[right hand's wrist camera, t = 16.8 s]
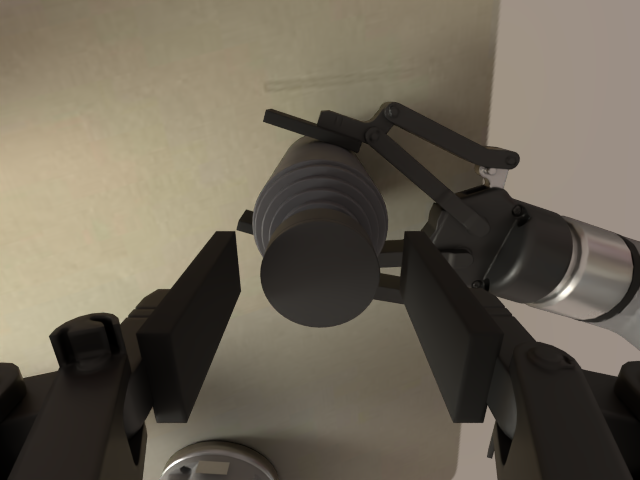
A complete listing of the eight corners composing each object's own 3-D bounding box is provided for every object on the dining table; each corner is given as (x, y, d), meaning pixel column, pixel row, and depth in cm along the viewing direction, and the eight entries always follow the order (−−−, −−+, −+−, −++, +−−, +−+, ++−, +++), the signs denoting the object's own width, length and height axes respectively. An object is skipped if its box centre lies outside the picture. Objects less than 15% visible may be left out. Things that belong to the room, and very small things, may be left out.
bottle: (369, 195, 32) (432, 314, 14) (299, 221, 33) (275, 365, 15) (343, 119, 30) (378, 150, 12) (268, 151, 31) (195, 223, 13)
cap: (311, 184, 13) (310, 195, 12) (396, 252, 14) (405, 270, 13) (245, 266, 15) (236, 285, 13) (327, 322, 16) (328, 346, 14)
